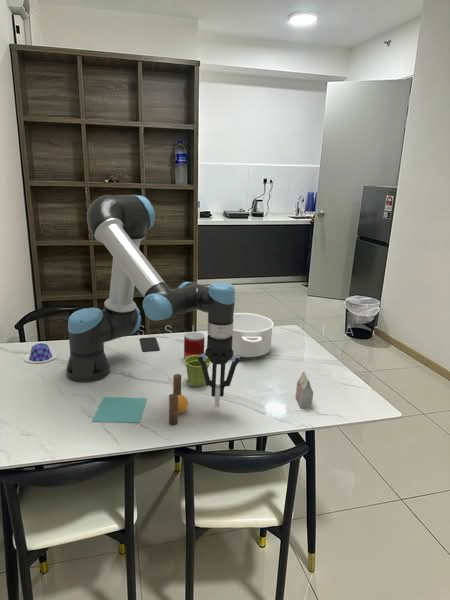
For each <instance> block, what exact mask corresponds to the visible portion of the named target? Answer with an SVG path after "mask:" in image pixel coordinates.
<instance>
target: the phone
mask: <svg viewBox="0 0 450 600" xmlns="http://www.w3.org/2000/svg"><path fill="white" fill-rule="evenodd" d="M139 344H140V348H141V351H142V352H143V353H149V352H150V353H152V352H159V351H161V349H160V345H159V343H158V341H157V338H156V337H155V336H152V337H151V336H150V337H149V336H148V337H140V338H139Z"/></svg>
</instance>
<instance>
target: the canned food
mask: <svg viewBox="0 0 450 600" xmlns="http://www.w3.org/2000/svg"><path fill="white" fill-rule="evenodd" d="M183 337H184V338H183V339H184V340H183V361H184V360H185V358H187V357H189V356H192V355H199V354H203V353H205V341H206V340H205V334H204V333H202V332H198V331H189V332H186V333H185V334H184V336H183Z"/></svg>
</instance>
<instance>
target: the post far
mask: <svg viewBox="0 0 450 600" xmlns="http://www.w3.org/2000/svg"><path fill="white" fill-rule="evenodd" d="M172 378H173V379H172V382H173V383H172V390H173V391H172V394H177V395H182V374H180V373H176V374H175V373H174V374H173V377H172Z"/></svg>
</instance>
